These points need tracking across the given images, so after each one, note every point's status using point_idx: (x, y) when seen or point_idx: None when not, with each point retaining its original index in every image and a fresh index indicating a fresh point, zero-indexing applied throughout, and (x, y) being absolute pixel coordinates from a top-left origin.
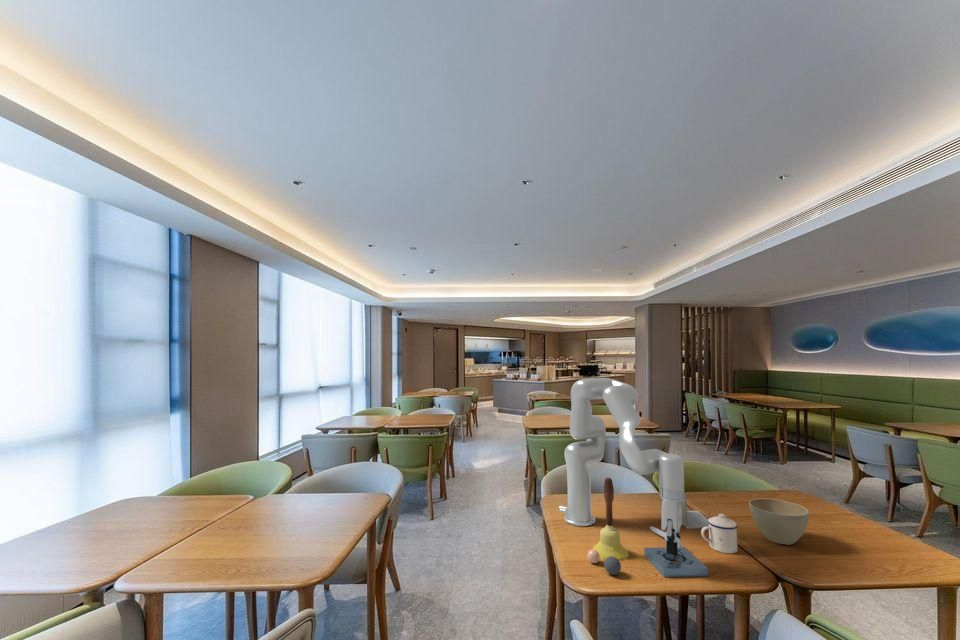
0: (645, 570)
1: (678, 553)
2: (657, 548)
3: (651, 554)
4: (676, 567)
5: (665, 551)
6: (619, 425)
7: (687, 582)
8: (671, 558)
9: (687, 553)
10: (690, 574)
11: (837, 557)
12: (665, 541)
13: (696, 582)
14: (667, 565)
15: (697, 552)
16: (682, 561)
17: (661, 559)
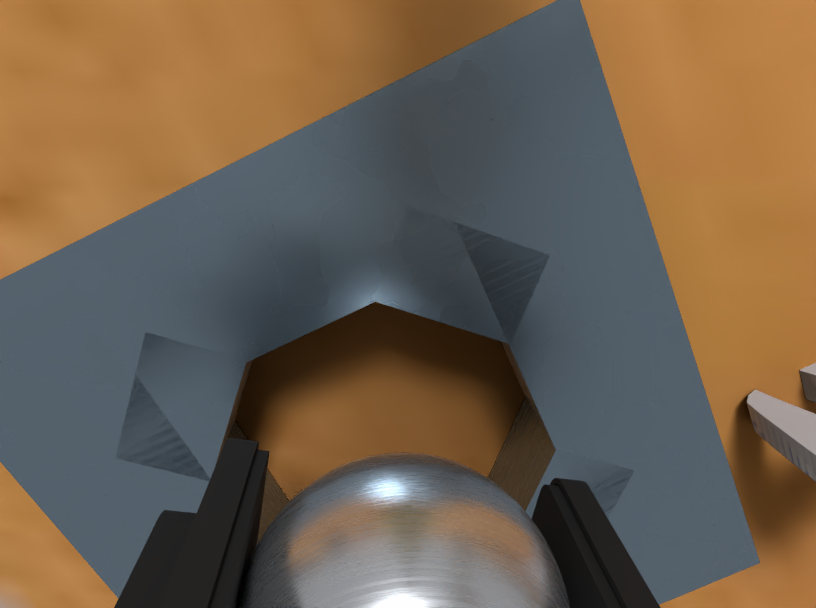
0: (22, 41)
1: (532, 507)
2: (614, 231)
3: (329, 137)
4: (57, 495)
5: (538, 350)
6: None
7: (19, 527)
8: (520, 382)
9: None
10: None
11: None
12: (407, 501)
13: (78, 598)
14: (50, 385)
15: (789, 601)
16: None
17: (216, 300)
